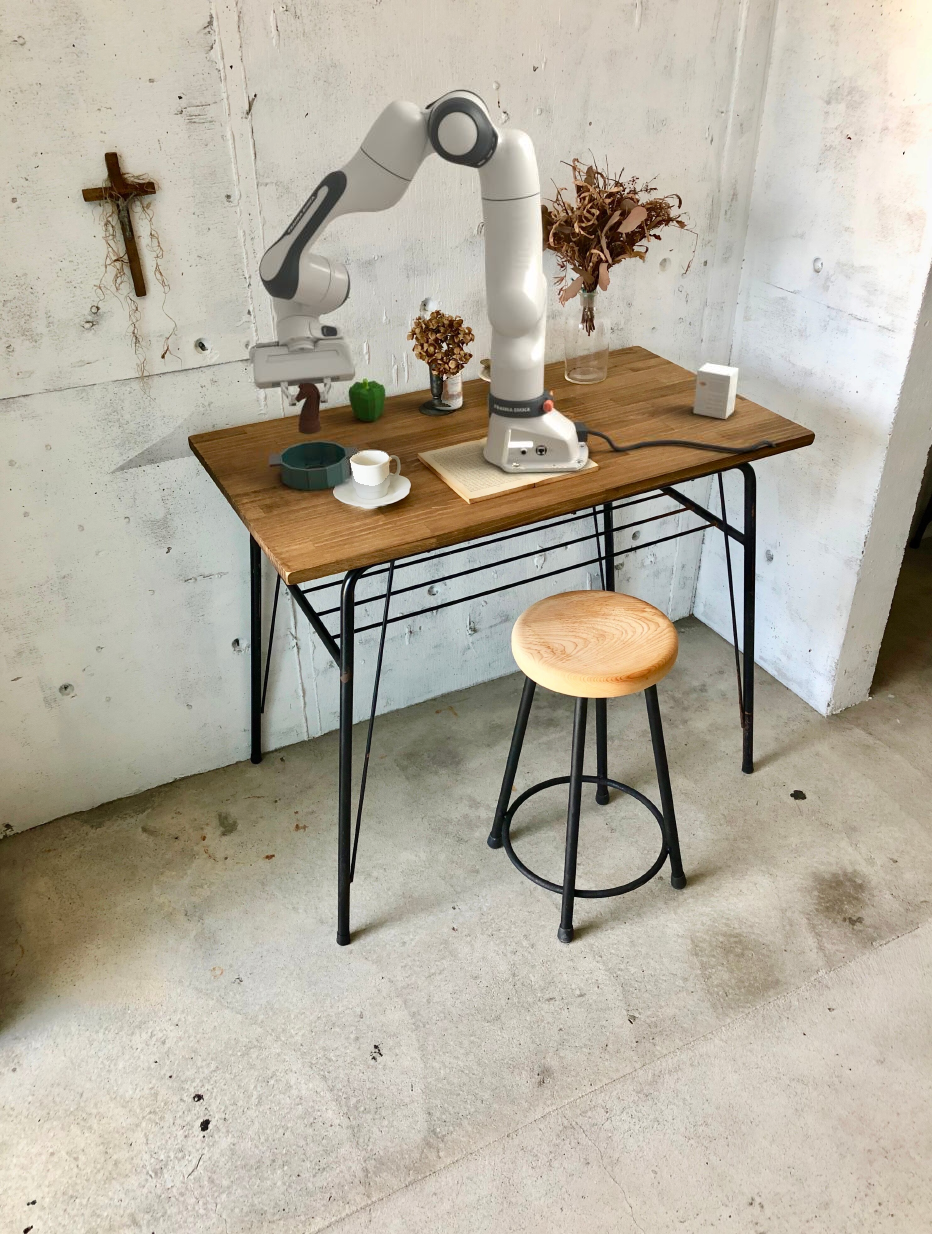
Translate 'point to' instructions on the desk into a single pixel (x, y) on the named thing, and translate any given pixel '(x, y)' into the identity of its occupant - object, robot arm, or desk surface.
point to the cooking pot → (314, 464)
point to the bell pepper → (367, 400)
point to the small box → (715, 390)
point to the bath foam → (452, 392)
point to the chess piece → (309, 408)
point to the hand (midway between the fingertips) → (308, 403)
